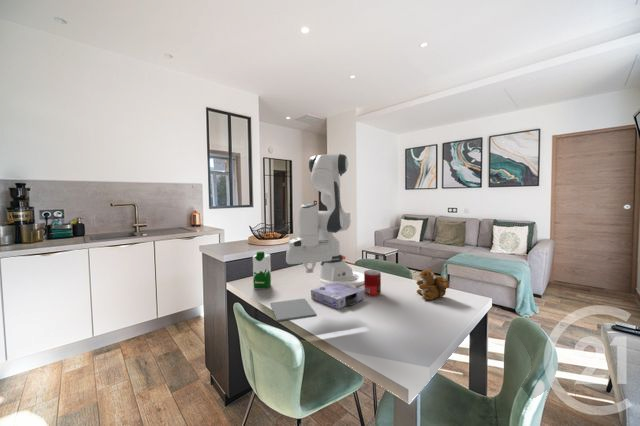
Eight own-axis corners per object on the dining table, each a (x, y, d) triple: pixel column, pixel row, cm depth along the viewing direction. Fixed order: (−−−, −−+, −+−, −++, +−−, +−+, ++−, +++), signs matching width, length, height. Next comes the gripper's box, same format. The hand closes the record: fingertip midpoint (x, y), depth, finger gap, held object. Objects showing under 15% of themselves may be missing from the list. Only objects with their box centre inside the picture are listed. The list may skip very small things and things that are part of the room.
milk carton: (251, 291, 140) (250, 253, 139) (257, 285, 149) (256, 250, 148) (268, 291, 139) (267, 253, 138) (272, 286, 148) (272, 250, 147)
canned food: (380, 296, 128) (380, 274, 128) (364, 295, 130) (363, 273, 129) (380, 291, 136) (380, 270, 135) (364, 290, 137) (364, 269, 137)
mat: (304, 299, 126) (304, 298, 126) (316, 315, 108) (316, 314, 108) (270, 304, 121) (270, 302, 121) (276, 321, 103) (276, 319, 103)
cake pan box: (339, 311, 113) (365, 299, 124) (339, 299, 112) (365, 288, 124) (310, 300, 127) (336, 290, 139) (309, 289, 126) (335, 280, 138)
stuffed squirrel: (415, 292, 134) (415, 266, 133) (445, 293, 131) (445, 267, 131) (418, 299, 124) (418, 271, 123) (451, 300, 122) (451, 272, 121)
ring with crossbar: (333, 275, 176) (333, 268, 175) (373, 282, 161) (373, 274, 161) (309, 287, 152) (309, 279, 151) (355, 295, 137) (354, 286, 137)
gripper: (329, 238, 122) (329, 268, 122) (284, 241, 116) (285, 273, 116) (334, 240, 116) (334, 272, 116) (287, 243, 110) (288, 276, 110)
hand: (309, 272), depth 116 cm, fingers closed
